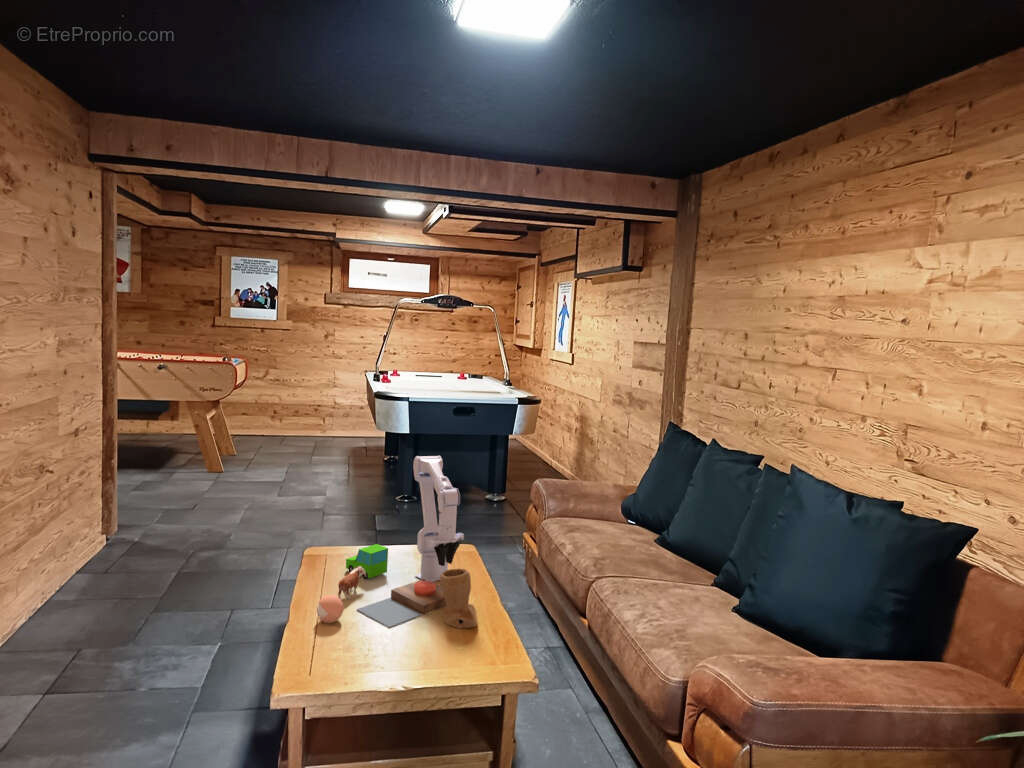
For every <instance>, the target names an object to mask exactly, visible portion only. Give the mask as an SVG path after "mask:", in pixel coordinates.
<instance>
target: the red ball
mask: <svg viewBox="0 0 1024 768" xmlns="http://www.w3.org/2000/svg"><path fill="white" fill-rule="evenodd" d="M418 581H419V580H418ZM415 582H416V581H415ZM436 585H437V584H436V583H435V582H431V581H419V582H416V583H415V584H414V593H415V594H417V595H421V596H429V595H432V594H434V593H435V590H436Z"/></svg>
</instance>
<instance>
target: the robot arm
mask: <svg viewBox="0 0 1024 768" xmlns="http://www.w3.org/2000/svg"><path fill="white" fill-rule="evenodd" d="M412 464H413V465H412V468H413V477H414V480H415V481H416V482H417V483H418V484H419V490H420V498H421V508H422V517H423V527H422V528H421V529H420V530H419V531H418V533H417V543H416V544H417V545H416V547H417V550H418V552H419V554H421V558H420V573H419V574H418V573H417V574H415V575H414V577H415V578H417V579H419V580H422V579H424V580H426V581H431V582H433V583H435V582H437V581H441V579H440V577H441V574H442V573H443V572H444V571H446V570H448V568H449V565H448V564H450V565H452V563H453V560H454V557H455V555H456V551H457V550H458V548H459V547H460V542H458V541H460V540H461V541H463V540H464V539H465V534H464V533H462V532H457V533H456V531H457V530H456V528H457V515H458V513H457V509H458V506H459V505H460V504H461V493H460V491H459V488H456V487H453V485H452V482H451V481H450V479H449V477H448V476H445V475H444V473H443V468H444V467H443V466H444V462H443V458H442V456H441V455H427V456H425V455H424V456H421V455H420V456H419V455H416V456H415V457H414V459H413V463H412ZM434 491H435V492H436V495H437V504H438V505H437V506H438V507H437V508H438V511H439V514H438V516H437V508H436V499H435V492H434ZM438 517H439V518H438Z"/></svg>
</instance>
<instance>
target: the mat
mask: <svg viewBox="0 0 1024 768" xmlns="http://www.w3.org/2000/svg"><path fill="white" fill-rule="evenodd" d="M356 611H357V612H359V613H361V614H362V615H364V616H366V617H368V618H370V619H372V620H373V621H375V622H377V623H379V624H381V625H382V626H384V627H387V629H390V628H393V627H396V626H399V625H401V624H404V623H406V622H409V621H412V620H414V619H416V617H417V618H419V617H422V616H423V615H422V614H421V613H419V612H417V611H415V610H413V609H411V608H409V607H407V606H405V605H403V604H401V603H399V602H397V601H395V600H393V599H391V597H388V598H385V599H382V600H379V601H376V602H373V603H371V604H370V603H369V604H367V605H365V606H362V607H359V608H356ZM421 615H422V616H421ZM418 616H419V617H418ZM411 619H412V620H411ZM403 622H404V623H403Z"/></svg>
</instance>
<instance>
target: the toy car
mask: <svg viewBox="0 0 1024 768" xmlns="http://www.w3.org/2000/svg"><path fill="white" fill-rule="evenodd" d="M388 557H389V548H388V547H386V546H383V545H381V544H378V543H376V544H372V545H369V546H366V547H361V548H359V549H358V552H357V555H354V556H351V557H348V558H345V568H346V569H347V570H348V573H350V572H351V571H353V570H354V569H355V567H359V566H361V567H362V568H363V569H364V571H365V572H366V574H362V575H361V576H362V577H363V579H364V580H369V579H371V578H375V577H377V576H379V575H383V574H385V573H387V572H388V562H389V561H388Z"/></svg>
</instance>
